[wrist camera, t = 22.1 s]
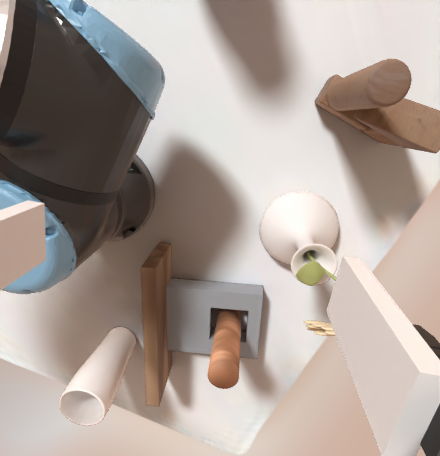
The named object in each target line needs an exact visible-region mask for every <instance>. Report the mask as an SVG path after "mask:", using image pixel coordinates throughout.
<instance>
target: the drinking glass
mask: <svg viewBox="0 0 440 456" xmlns="http://www.w3.org/2000/svg"><path fill="white" fill-rule="evenodd" d="M135 345H136V338H135V335H134V334H133V333H132V332H131V331H130V330H129V329H127V328H124V327H116V328H113V329H112V330H110V331H109V333H108V334H107V336H106V337H105V338H104V340H103V341H102V342H101V343H100V345H99V346H98V347H97V348H96V349H95V351H94V352H93V353H92V354H91V355H90V357H89V358H88V359H87V360H86V361H85V363H84V364H83V365H82V366H81V367H80V369H79V370H78V371H77V372H76V374H75V375H74V376H73V378H72V379H71V381H70V382H69V384H68V385H67V387H66V388H65V390H64V392H63V393H62V395H61V397H60V399H59V407H60V409H61V411H62V413H63V414H64V416H65V417H66V418H67V419H69V420H70V421H72V422H74V423H76V424H79V425H83V426H91V425H95V424H98V423H99V422H101V421H102V420H103V419H104V417H105V415H106V413H107V411H108V410H109V408H110V406H111V404H112V402H113V400H114V398H115V395H116V393H117V391H118V388H119V386H120V383H121V380H122V378H123V375H124V372H125V370H126V367H127V364H128V362H129V359H130V357H131V354H132V352H133V350H134V348H135Z"/></svg>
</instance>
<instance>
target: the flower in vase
mask: <svg viewBox="0 0 440 456" xmlns="http://www.w3.org/2000/svg"><path fill="white" fill-rule="evenodd" d="M338 232H339V221H338V217H337V214H336V212H335V210H334V208H333V206H332V205H331V204H330V203H329V202H328V201H327V200H326V199H325V198H323V197H321V196H320V195H317V194H315V193H312V192H307V191H295V192H290V193H287V194H284V195H282V196H280V197H278V198H277V199H275V200H274V201H273V202H272V203H271V204H270V205H269V206H268V207H267V208H266V210H265V211H264V213H263V215H262V218H261V221H260V226H259V233H260V239H261V242H262V244H263V246H264V248H265V249H266V251H267V252H268V253H269V254H270V255H271V256H272V257H274V258H275V259H277V260H278V261H281V262H283V263H286V264H289V265H291V270H292V273H293V275H294V276H295V278H296V279H297V280H299V281H300V282H302V283H304V284H306V285H309V286H313V285H318V284H322V283H324V282H326V281H328V280H329V279H330V278H332V279H334V280H335V281H336V277H335V276H334V273H335V272H336V269H337V258H336V255H335V254H334V252H333V251H332V250H331V249H332V247H333V245H334V244H335V241H336V239H337V236H338ZM304 323H307V324H310V325H306V327H308V328H307V329H308V330H312V331H314V333H315V334H317V335H324V336H336V335H335V333H334V330H333V328H332V325H331V324H330V323H325V322H320V321H304Z"/></svg>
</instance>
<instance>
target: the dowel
mask: <svg viewBox="0 0 440 456" xmlns="http://www.w3.org/2000/svg"><path fill="white" fill-rule="evenodd" d="M240 337H241V310H232V309H221V308H219V310H218V315H217V321H216V327H215V333H214V339H213V345H212V351H211V357H210V363H209V369H208V379H209V381H210V382H211V384H213V385H214V386H216V387H218V388H222V389H227V388H231V387H233V386H234V385H235V384H236V383H237V382H238V379H239V360H240Z"/></svg>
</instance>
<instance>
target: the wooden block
mask: <svg viewBox="0 0 440 456" xmlns="http://www.w3.org/2000/svg"><path fill="white" fill-rule="evenodd" d="M410 85H411V73H410V71H409V69H408V66H407V65H405V64H404V63H403V62H402V61H400V60H397V59H387V60H383V61H380V62H378V63H376V64H374V65H371V66H369V67H367V68H365V69H362V70H360V71H358V72H355V73H353V74H351V75H349V76H346V77H344V78H342V77H340V76H339V75H334V76H332V77H330V78H329V79H328V80H327V82H326V84H325V85H324V87H323V88H322V90H321V92H320V93H319V95H318V97H317V98H316V100H315V104H316V105H318V106H320V107H321V108H323V109H325V110H326V111H328V112H330V113H331V114H333V115H335V116H336V117H338V118H340V119H341V120H343V121H345V122H346V123H348V124H350V125H351V126H353V127H355V128H356V129H360V130H361V132H363V133H365V134H366V135H368V136H370V137H371V138H373V139H375V140H376V141H378V142H380V143H386V144H391V145H397V146H402V147H404V148H409V149H415V150H420V151H426V152H431V153H437V152H438V151H439V150H440V111H439V110H436V109H433V108H430V107H428V106H425V105H422V104H419V103H416V102H413V101H411V100H408V99H405V98H404V97H405V96H406V94H407V92H408V90H409V88H410Z"/></svg>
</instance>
